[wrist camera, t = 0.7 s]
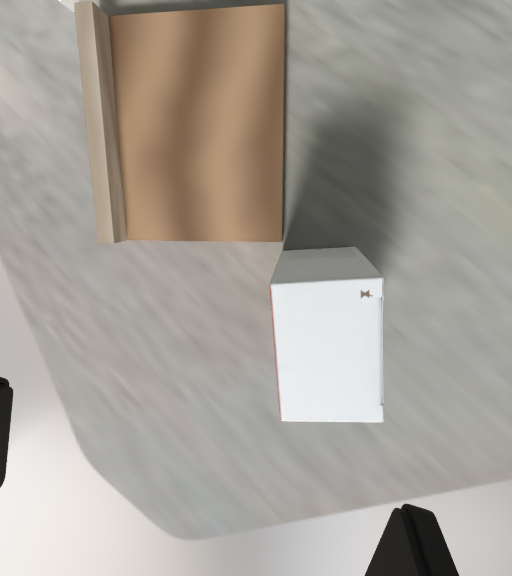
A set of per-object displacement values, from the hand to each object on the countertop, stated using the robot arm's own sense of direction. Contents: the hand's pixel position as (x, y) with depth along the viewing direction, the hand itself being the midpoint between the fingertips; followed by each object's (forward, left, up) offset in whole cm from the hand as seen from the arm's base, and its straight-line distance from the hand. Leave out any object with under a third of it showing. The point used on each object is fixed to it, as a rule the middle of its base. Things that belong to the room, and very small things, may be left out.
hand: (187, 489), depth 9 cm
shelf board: (+6, -11, -21) cm, 25 cm away
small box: (-4, +1, -22) cm, 22 cm away
